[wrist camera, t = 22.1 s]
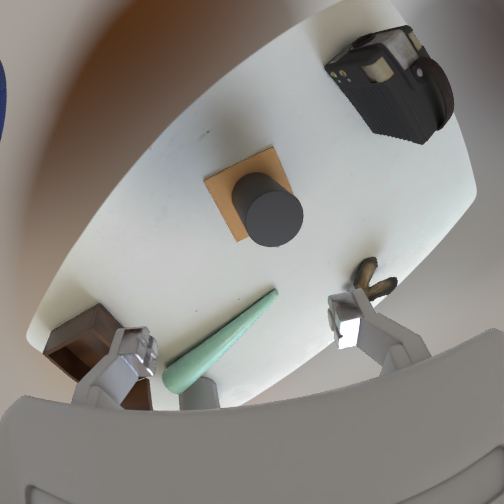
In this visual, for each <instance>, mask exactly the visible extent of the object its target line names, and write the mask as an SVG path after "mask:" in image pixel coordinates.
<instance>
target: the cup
mask: <svg viewBox="0 0 504 504" xmlns="http://www.w3.org/2000/svg"><path fill="white" fill-rule="evenodd" d="M179 405H180V411H181V410H204V409H218V408H220V403H219V398H218V393H217V387H216V384H215V383H214V382H213V381H212V380H210V379H207V378H203V377H199V378H198V379H197V380H196V381H195V382H194V383H193V384H192V385H191V386H190V387H188V388H187V389H186V390H185V391H184V392H182V393H181V394H179Z"/></svg>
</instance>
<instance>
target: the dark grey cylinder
mask: <svg viewBox="0 0 504 504" xmlns="http://www.w3.org/2000/svg"><path fill="white" fill-rule="evenodd" d="M232 203H233V206H234V208H235V210H236V212H237V213H238V215H239V217H240V219H241V221H242V223H243V225H244V227H245V229H246V231H247V233H248V235H249V236H250V238H251V239H252V240H253V241H254V242H256V243H257V244H259V245H262V246H266V247H276V246H280V245H283V244H285V243H287V242H289V241H290V240H292V239H293V238H294V237H295V236H296V234H297V233H298V232H299V230H300V228H301V226H302V222H303V209H302V206H301V204H300V202H299V200H298V199H297V198H296V197H295V196H294V195H293V194H291V193H290V192H289V191H288V190H286V189H285V188H284V187H283V186H281V185H280V184H279V183H277V182H276V181H275V180H274V179H272V178H271V177H270V176H268V175H266V174H264V173H259V172H254V173H249V174H246V175H245V176H243V177H241V178H240V179H239V180H238V181H237V182H236V184H235V185H234V188H233V190H232Z"/></svg>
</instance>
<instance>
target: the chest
mask: <svg viewBox="0 0 504 504" xmlns="http://www.w3.org/2000/svg"><path fill="white" fill-rule="evenodd" d="M121 328H123V327H122V326H121V325H120V324H119V323H118V322H117V321H116V320H115V319H114V317H113V316H112V315H111V314H110V313H109V312H108V311H107V310H106V309H105V308H104V307H103V306H102V305H101V303H99V304H98V305H96V306H94V307H92V308H91V309H89V310H87V311H85V312H84V313H82V314H80V315H79V316H77V317H75V318H74V319H72V320H70V321H68V322H67V323H65V324H63V325H62V326H60V327H58V328H57V329H55V330H53V331H52V332H51V334H50V336H49V338H48V341H47V343H46V346H45V349H44V351H43V354H44V355H45V356H46V357H47V358H48V359H49V360H50V361H51V362H52V363H54V364H55V365H56V366H57V367H59V369H61V370H62V371H63V372H64V373H65V374H67V375H68V376H69V377H71V378H72V379H73V380H74V381H76V382H77V383H79V382H80V380H81V379H82V378H83V377H84V376H85V375H86V374H87V373H88V372H89V371H90V370H91V369H92V368H93V367H94V366H95V365H96V364H97V363H98V362H99V361H100V360H101V359H102V358H103V357H104V356H105V355H108V353H109V350H110V347H111V344H112V341H113V338H114V335H115V332H116V330H117V329H121ZM142 378H145V377H139V378H138V380H140V379H142Z"/></svg>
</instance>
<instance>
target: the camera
mask: <svg viewBox="0 0 504 504" xmlns="http://www.w3.org/2000/svg"><path fill="white" fill-rule="evenodd" d="M325 70H326V71H327V72H328V73H329V75H330V76H331V77H332V78H333V79H334V81H335V82H336V83H337V84H338V85H339V87H340V89H341V90H342V91H343V92H344V94H345V95H346V96H347V97H348V99H349V100H350V101H351V102H352V104H353V105H354V106H355V108H356V109H357V110H358V112H359V113H360V114H361V116H362V117H363V119H364V120H365V121H366V123H367V124H368V126H369V127H370V128H371V130H372V131H373V133H375V134H380V135H382V134H383V135H387V136H391V137H395V138H399V139H403V140H408V141H412V142H413V143H417V144H421V145H423V144H424V143H425V142H426V141H428V139H429V138H430V137H431V136H432V135H433V133H434V132H435V131H438V130H440V129H442V128H443V127H444V125H445V124H446V123H447V122H448V120H449V119H450V118H451V116H452V114H453V110H454V98H453V93H452V89H451V86H450V83H449V81H448V79H447V77H446V75H445V73H444V71H443V70H442V68H441V67H440V66H439V65H438V63H437V62H435V61H434V60H433V59H431V58H430V56H429V55H428V53H427V51H426V50H425V48H424V46H422V45H421V44H420V42H419V40H418V39H417V37H416V36H415V34H414V33H413V29H412V28H411V27H410V26H408V25H405V26H400V27H396V28H391V29H387V30H383V31H379V32H376V33H371V34H368V35H365V36H362V37H360V38H358V39H357V40H356V41H355V42H353V43H352V44H351V45H350V46H348V47H347V48H346V49H345V50H343V51H342V52H341V53H340V54H339V55H337V56H336V57H335V58H334V59H333V60H331V61H330V62H329V63H328V64H327V65H326V66H325Z"/></svg>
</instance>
